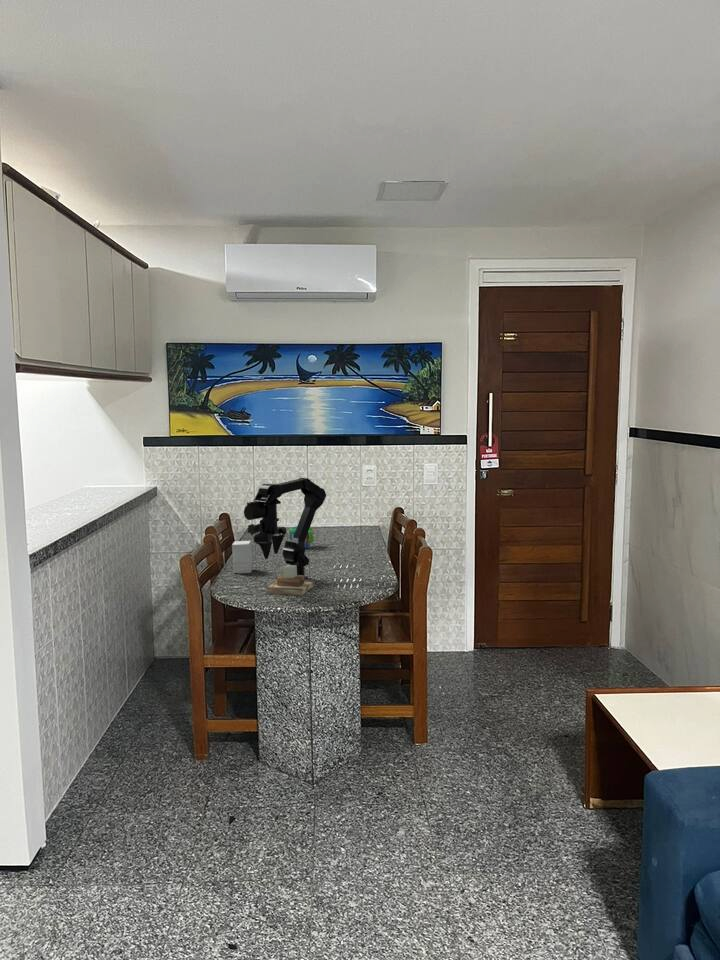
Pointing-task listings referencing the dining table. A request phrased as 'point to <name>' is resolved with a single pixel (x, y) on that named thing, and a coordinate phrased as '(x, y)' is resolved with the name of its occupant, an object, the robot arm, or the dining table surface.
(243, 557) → the supplement box
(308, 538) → the snack cup
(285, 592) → the birch dock
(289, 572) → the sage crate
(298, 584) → the walnut pallet
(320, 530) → the dining table surface
